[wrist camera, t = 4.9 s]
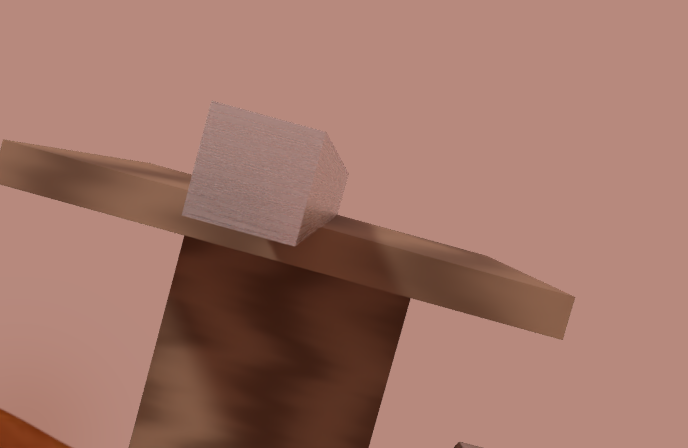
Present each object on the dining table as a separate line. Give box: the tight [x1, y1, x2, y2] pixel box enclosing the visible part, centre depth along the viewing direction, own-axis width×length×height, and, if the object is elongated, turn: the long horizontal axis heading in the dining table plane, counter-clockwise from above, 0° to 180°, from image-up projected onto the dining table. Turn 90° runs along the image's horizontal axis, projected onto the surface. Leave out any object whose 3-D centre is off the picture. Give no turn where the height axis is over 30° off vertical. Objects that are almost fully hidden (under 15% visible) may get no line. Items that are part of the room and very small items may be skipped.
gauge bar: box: [182, 101, 348, 247], centre depth 24 cm, size 2×22×2 cm, turn 178°
